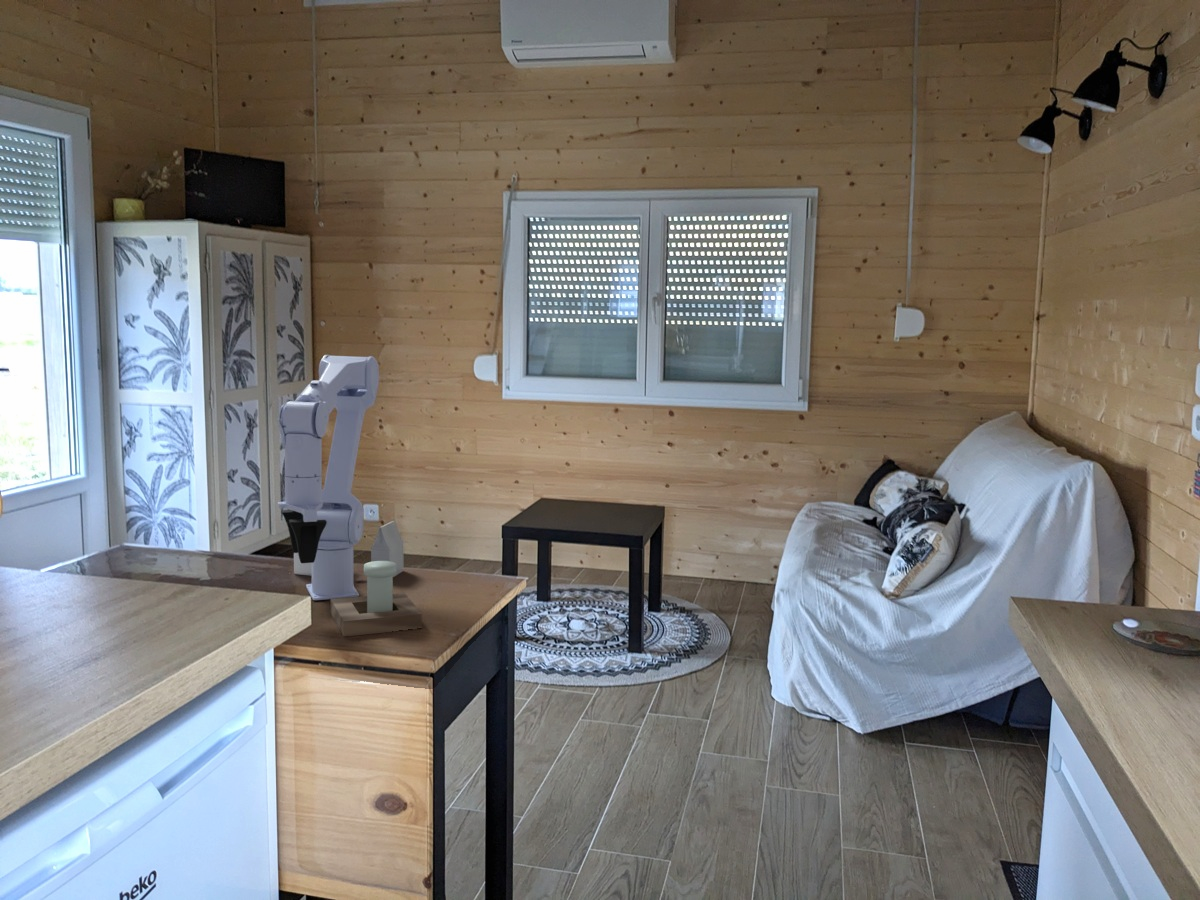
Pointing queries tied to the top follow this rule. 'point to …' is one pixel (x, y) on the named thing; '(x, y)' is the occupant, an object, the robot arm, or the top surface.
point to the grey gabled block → (388, 546)
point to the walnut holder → (374, 616)
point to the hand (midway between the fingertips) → (303, 557)
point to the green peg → (379, 585)
